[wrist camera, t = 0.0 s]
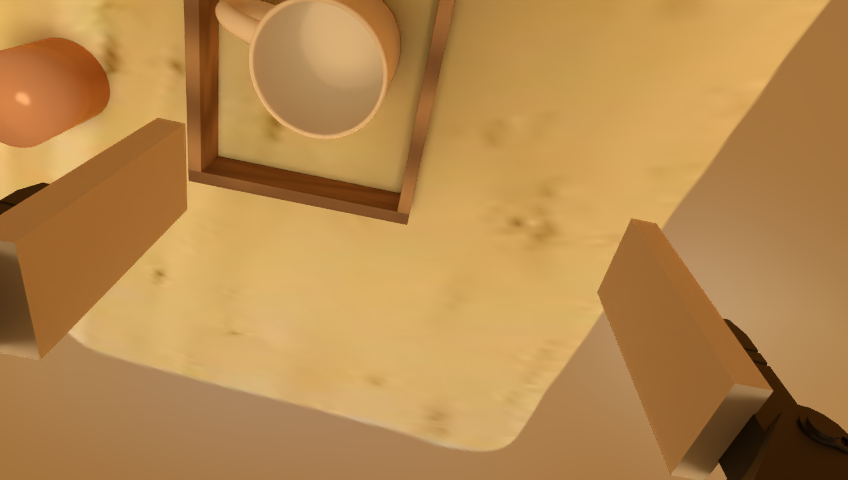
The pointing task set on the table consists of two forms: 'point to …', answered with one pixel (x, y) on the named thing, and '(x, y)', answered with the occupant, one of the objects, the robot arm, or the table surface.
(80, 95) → the orange rounded cylinder
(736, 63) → the table surface
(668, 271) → the robot arm
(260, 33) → the mug
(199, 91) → the frame
